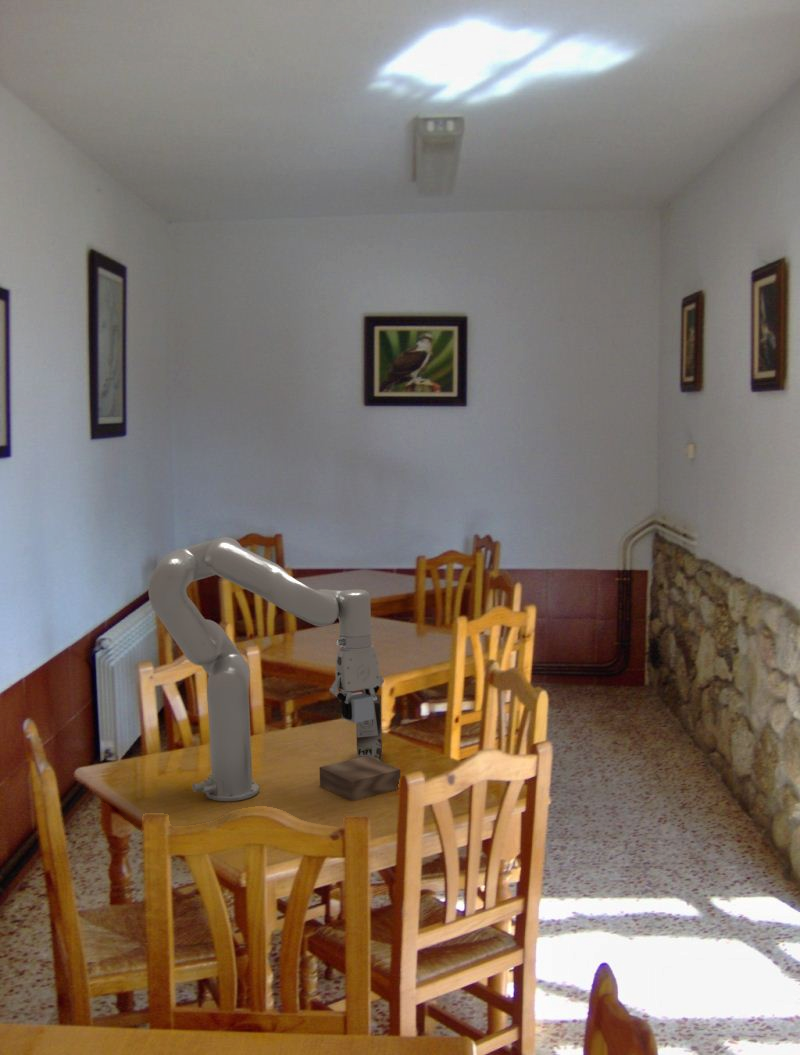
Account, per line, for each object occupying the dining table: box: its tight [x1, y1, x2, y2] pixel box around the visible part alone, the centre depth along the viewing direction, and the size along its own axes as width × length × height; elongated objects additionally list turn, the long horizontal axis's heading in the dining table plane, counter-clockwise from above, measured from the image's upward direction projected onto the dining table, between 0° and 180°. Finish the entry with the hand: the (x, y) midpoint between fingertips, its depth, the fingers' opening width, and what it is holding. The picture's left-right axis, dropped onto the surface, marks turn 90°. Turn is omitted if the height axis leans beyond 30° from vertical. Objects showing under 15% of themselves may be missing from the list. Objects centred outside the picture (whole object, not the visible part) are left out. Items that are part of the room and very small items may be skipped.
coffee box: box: [355, 694, 383, 762], centre depth 277 cm, size 9×6×16 cm
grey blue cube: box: [341, 691, 374, 724], centre depth 255 cm, size 6×6×6 cm
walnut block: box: [319, 756, 401, 802], centre depth 257 cm, size 14×14×5 cm
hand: (358, 715), depth 255 cm, fingers closed on grey blue cube, 5 cm apart
